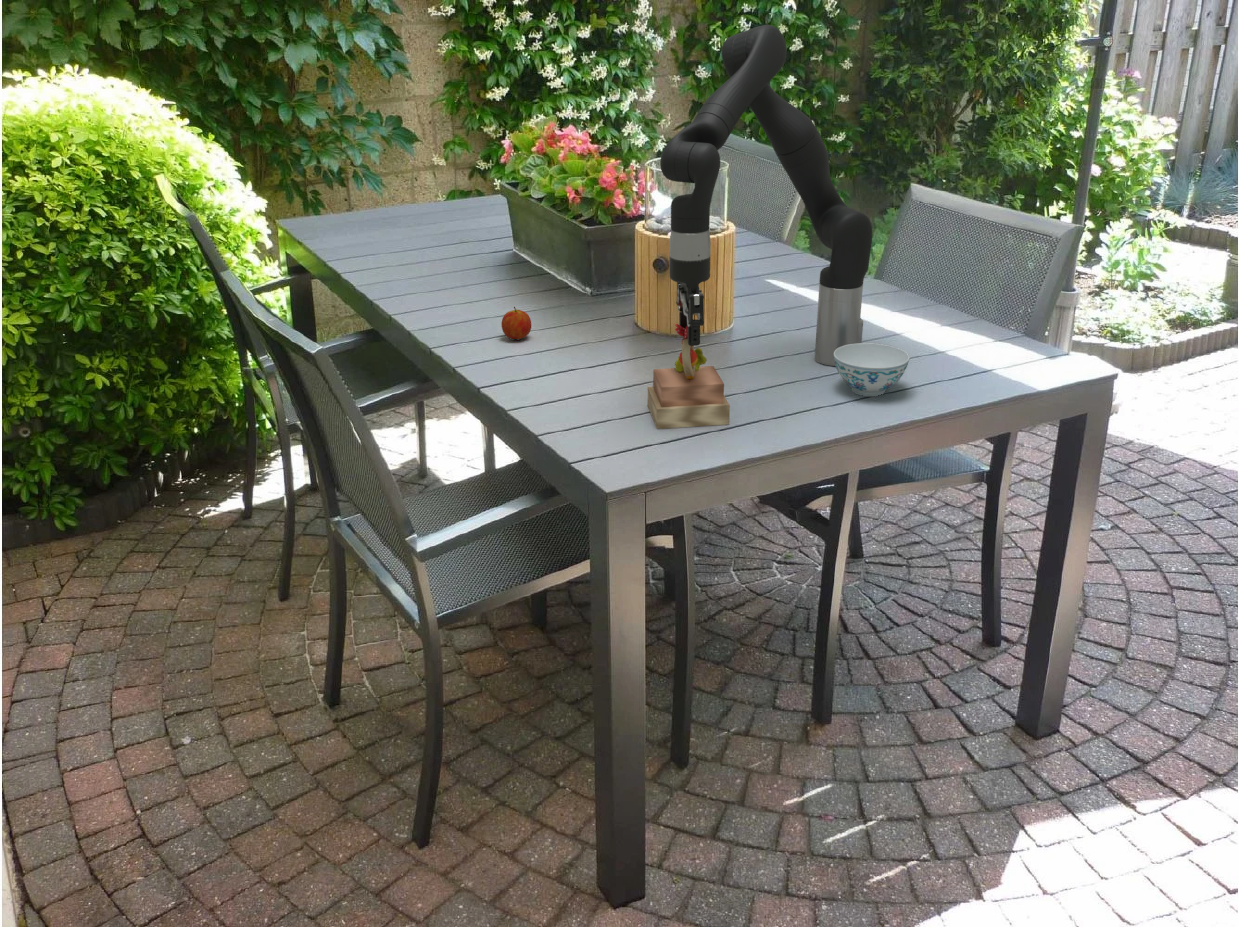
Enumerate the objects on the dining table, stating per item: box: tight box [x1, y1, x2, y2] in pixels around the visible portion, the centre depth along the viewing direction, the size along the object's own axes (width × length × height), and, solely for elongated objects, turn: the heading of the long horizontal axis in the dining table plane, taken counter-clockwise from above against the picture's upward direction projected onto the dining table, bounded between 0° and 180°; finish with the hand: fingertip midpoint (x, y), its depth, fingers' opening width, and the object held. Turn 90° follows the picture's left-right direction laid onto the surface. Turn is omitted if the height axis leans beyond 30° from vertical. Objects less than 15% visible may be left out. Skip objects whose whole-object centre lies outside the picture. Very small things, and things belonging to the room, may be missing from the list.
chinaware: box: [834, 342, 910, 397], centre depth 227 cm, size 15×15×8 cm
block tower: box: [647, 365, 731, 430], centre depth 216 cm, size 14×12×8 cm
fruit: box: [501, 306, 532, 340], centre depth 259 cm, size 7×7×8 cm
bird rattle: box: [674, 323, 708, 380], centre depth 213 cm, size 6×11×9 cm
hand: (689, 337), depth 211 cm, fingers open, 8 cm apart
